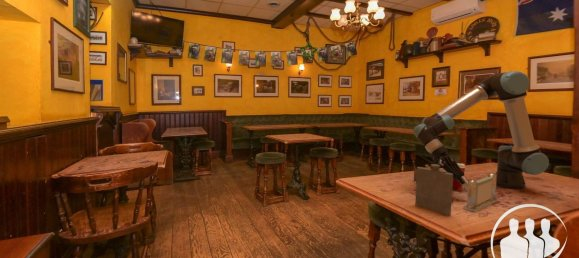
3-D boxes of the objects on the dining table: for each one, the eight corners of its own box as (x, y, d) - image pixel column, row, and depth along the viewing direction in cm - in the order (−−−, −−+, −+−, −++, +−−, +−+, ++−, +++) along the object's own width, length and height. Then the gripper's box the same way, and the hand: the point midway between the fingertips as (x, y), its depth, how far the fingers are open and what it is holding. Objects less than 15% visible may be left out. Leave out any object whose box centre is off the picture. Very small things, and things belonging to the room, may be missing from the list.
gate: (486, 197, 142) (487, 176, 141) (491, 198, 140) (492, 177, 139) (470, 204, 131) (471, 181, 130) (475, 206, 129) (477, 183, 128)
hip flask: (413, 205, 135) (415, 162, 133) (419, 203, 137) (421, 161, 135) (448, 216, 121) (450, 168, 120) (453, 214, 123) (456, 167, 122)
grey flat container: (426, 179, 182) (427, 164, 181) (430, 180, 179) (431, 165, 178) (413, 181, 177) (413, 165, 176) (417, 182, 174) (417, 166, 174)
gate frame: (486, 198, 145) (487, 172, 144) (497, 200, 141) (499, 174, 140) (463, 208, 130) (464, 180, 129) (475, 212, 126) (477, 182, 125)
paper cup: (466, 191, 156) (468, 165, 154) (450, 190, 157) (452, 165, 156) (461, 187, 163) (462, 162, 162) (446, 186, 165) (447, 162, 164)
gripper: (437, 153, 157) (469, 191, 145) (424, 155, 150) (457, 195, 138) (448, 144, 153) (482, 182, 141) (435, 146, 145) (470, 187, 133)
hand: (469, 189), depth 139 cm, fingers closed
